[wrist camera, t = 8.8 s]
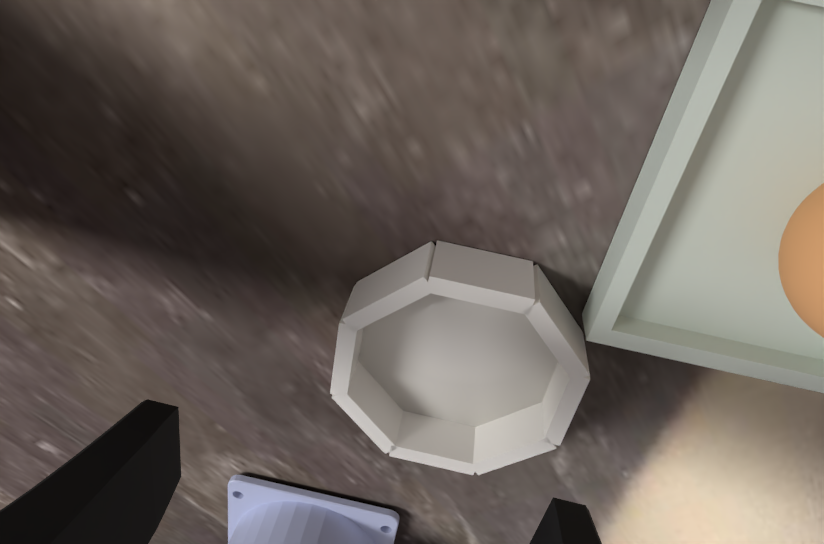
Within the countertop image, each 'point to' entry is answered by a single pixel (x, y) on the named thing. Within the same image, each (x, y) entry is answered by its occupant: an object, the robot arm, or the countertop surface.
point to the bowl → (459, 359)
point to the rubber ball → (805, 260)
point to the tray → (724, 202)
